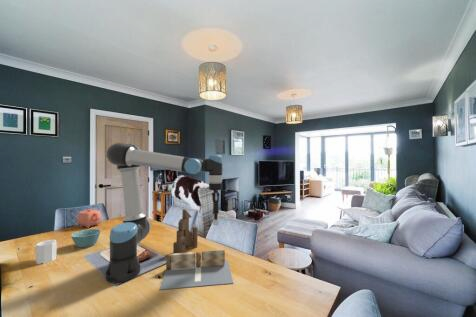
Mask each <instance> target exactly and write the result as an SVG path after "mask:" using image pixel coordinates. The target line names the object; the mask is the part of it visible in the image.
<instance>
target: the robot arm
mask: <svg viewBox="0 0 476 317" xmlns="http://www.w3.org/2000/svg"><path fill="white" fill-rule="evenodd" d="M106 159H107V161H108V162H110V163H111V164H112V165H114V166H116V169H117V171H119V172H120V177H121V185H122V193H123V195H122V196H123V203H124V211H125V213H124V214H125V217H124V218H123V219H122V223H119V224H116V225H114V226H113V227H112V228H111V229H110V232H109V262H108V264H107V267H106V269H105V270H106V271H105V275H104V278H105V280H106V281H107V282H109V283H122V282H125V281H129V280H132V279H133V278H135V277H137V276H139V274H140V273H141V269H142V268H141V264H140V261H139V258H138V244H140V242H141V241H142V240H144V239H145V238H146V237H147V236H148V234H150V230H151V223H150V220H149V219H147V215H146V214H145V213H144V211H143V203H142V194H141V185H140V176H139V170H140V169H141V167H148V168H153V169H154V168H156V169H160V170H167V171H168V170H169V171H175V172H182V173H187V174H190V175H196V174H198V173H208V189H209V191H212V192H211V196H212V197H211V198H212V211H211V214H212V225H213V226H218V225H219V213H220V210H219V202H220V192H219V191H222V190H223V183H222V182H223V179H224V176H223V157H222V155H219V154H217V155H216V154H213V155H212V154H211V155H209V156H208V158H195V157H194V158H193V157H187V156H182V155H181V156H180V155H173V154H169V153H163V152H162V153H161V152H155V151H154V152H153V151H149V150H143V149H141V148H139V147H138V146H136V145H134V144H131V143H130V144H129V143H122V142H117V143H113V144H111V145H110V146H109V147H108V148H107V150H106Z"/></svg>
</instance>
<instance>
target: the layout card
mask: <svg viewBox="0 0 476 317" xmlns="http://www.w3.org/2000/svg"><path fill="white" fill-rule="evenodd" d="M231 284H234V280H233V276H232V271H231V267H230V262H229V260H228V259H225V265H221V266H208V267H202V261H201V267H200V268H197V267H196V261H195V267H194V268H181V269H171V270H166V269H165V272H164V276H163V278H162V281H161V284H160V287H159V291H162V290H163V291H164V290H165V291H166V290H173V289H174V290H175V289H187V288H196V287H198V288H199V287H209V286H211V287H212V286H219V285H231Z"/></svg>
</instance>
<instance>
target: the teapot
mask: <svg viewBox="0 0 476 317" xmlns="http://www.w3.org/2000/svg"><path fill="white" fill-rule="evenodd" d="M101 223H102V214H101V211H100V210H97V209H92V208H88V209H87V210H83V211H79V212H78V213H77V218H76V224H77V226H79V227H80V228H84V227H85V228H86V229H89V228H88V227H90V228H91V227H92V226H94V225H97V226H99V224H101ZM83 226H84V227H83Z"/></svg>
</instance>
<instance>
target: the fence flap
mask: <svg viewBox="0 0 476 317" xmlns="http://www.w3.org/2000/svg"><path fill="white" fill-rule="evenodd" d="M225 253H226V252H225V250H223V249H221V250H206V251H204V250H203V251H201V262H202V267H208V266H221V265H225V260H226V256H225V255H226V254H225Z"/></svg>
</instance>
